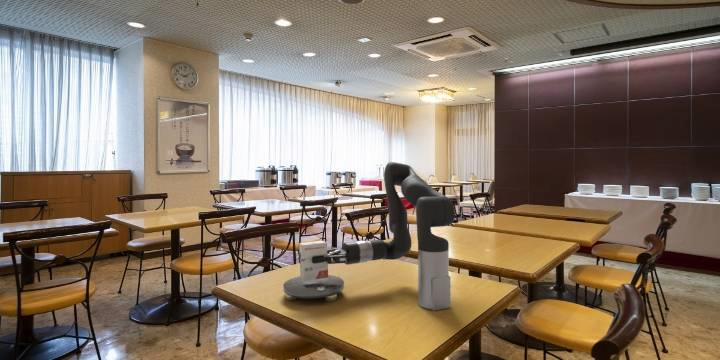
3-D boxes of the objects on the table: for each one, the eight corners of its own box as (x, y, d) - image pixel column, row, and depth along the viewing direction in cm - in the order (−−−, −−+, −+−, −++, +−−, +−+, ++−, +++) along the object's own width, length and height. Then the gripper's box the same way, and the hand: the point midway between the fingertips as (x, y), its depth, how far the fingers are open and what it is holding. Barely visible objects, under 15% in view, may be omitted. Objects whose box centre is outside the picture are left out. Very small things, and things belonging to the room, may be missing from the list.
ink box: (324, 273, 131) (323, 239, 130) (328, 277, 126) (327, 242, 126) (299, 277, 128) (298, 242, 127) (302, 281, 123) (301, 245, 122)
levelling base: (353, 300, 122) (352, 285, 121) (291, 310, 114) (290, 294, 114) (332, 282, 140) (332, 269, 140) (278, 290, 132) (277, 276, 132)
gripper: (349, 237, 139) (304, 242, 132) (365, 245, 126) (315, 251, 119) (350, 258, 139) (304, 264, 133) (365, 268, 126) (316, 275, 120)
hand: (310, 258), depth 126 cm, fingers closed on ink box, 5 cm apart
